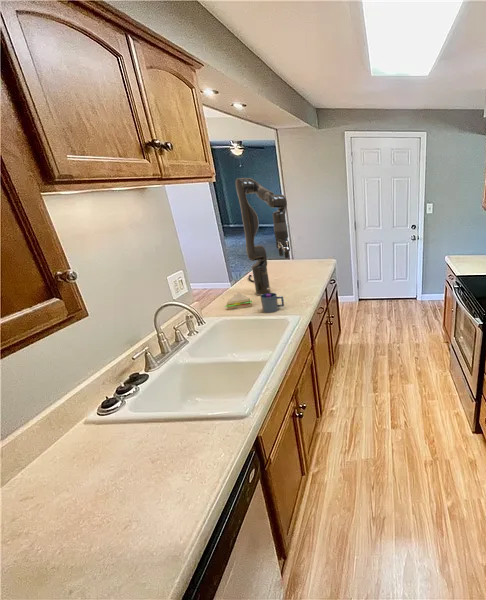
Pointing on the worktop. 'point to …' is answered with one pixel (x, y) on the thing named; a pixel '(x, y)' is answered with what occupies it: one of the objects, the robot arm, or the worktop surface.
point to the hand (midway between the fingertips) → (284, 256)
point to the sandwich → (238, 301)
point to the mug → (271, 303)
